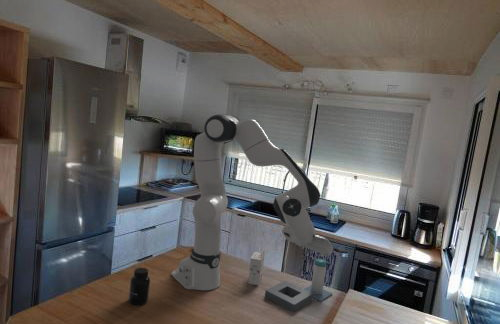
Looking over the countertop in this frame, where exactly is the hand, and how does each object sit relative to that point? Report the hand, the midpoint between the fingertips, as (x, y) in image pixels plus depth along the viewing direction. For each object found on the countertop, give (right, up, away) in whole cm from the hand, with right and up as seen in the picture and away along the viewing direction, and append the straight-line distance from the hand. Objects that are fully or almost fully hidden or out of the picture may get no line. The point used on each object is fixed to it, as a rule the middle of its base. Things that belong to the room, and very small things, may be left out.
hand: (312, 251), depth 139 cm
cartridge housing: (-10, -20, +1) cm, 22 cm away
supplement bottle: (-67, -15, -14) cm, 70 cm away
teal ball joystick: (+3, -20, +8) cm, 22 cm away
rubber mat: (+3, -20, +8) cm, 22 cm away
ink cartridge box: (-23, -17, +14) cm, 32 cm away
